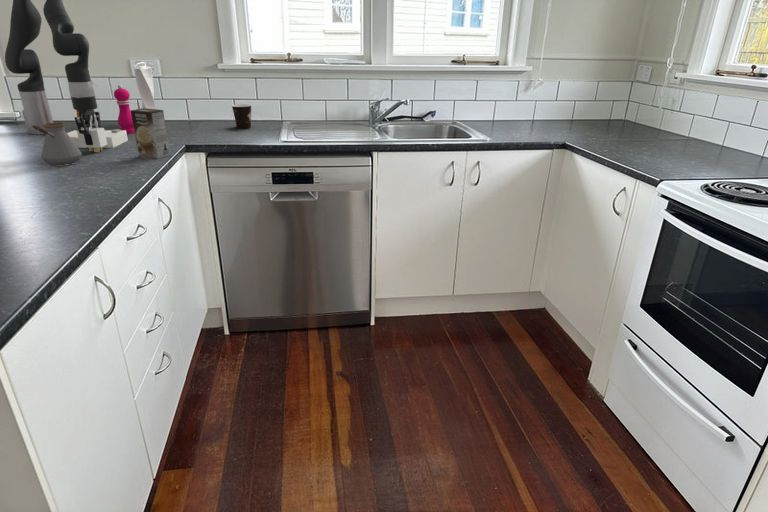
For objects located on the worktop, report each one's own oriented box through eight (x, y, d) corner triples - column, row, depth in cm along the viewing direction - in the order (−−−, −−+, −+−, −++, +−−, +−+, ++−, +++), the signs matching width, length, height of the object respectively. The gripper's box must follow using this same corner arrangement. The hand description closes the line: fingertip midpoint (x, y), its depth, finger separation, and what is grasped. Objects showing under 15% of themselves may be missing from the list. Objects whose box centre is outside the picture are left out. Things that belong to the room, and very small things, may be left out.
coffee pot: (51, 160, 170) (39, 115, 163) (88, 158, 172) (77, 114, 166) (24, 176, 151) (10, 126, 144) (66, 174, 153) (54, 125, 147)
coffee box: (137, 156, 176) (128, 110, 169) (151, 153, 181) (142, 107, 175) (158, 159, 173) (150, 111, 166) (171, 155, 179) (163, 109, 172)
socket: (58, 147, 187) (55, 134, 185) (76, 140, 200) (74, 128, 198) (113, 147, 188) (110, 134, 186) (128, 140, 201) (125, 128, 199)
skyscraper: (145, 124, 237) (134, 62, 226) (163, 124, 238) (152, 62, 226) (139, 127, 229) (127, 63, 218) (157, 127, 230) (146, 63, 219)
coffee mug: (245, 125, 237) (242, 103, 233) (257, 127, 232) (255, 105, 228) (225, 128, 228) (222, 106, 224) (237, 130, 224) (234, 108, 220)
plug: (73, 152, 180) (67, 130, 176) (80, 149, 185) (75, 127, 181) (101, 152, 180) (97, 130, 177) (108, 149, 185) (103, 127, 182)
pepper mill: (133, 134, 213) (124, 85, 205) (116, 134, 213) (106, 85, 205) (141, 131, 219) (132, 83, 211) (125, 131, 219) (115, 83, 211)
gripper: (81, 92, 181) (92, 139, 188) (61, 97, 168) (73, 147, 175) (102, 92, 181) (112, 139, 188) (84, 97, 168) (95, 147, 175)
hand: (93, 142), depth 181 cm, fingers closed on plug, 5 cm apart
